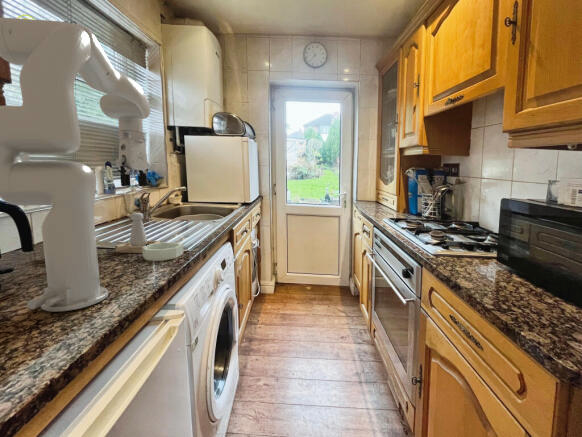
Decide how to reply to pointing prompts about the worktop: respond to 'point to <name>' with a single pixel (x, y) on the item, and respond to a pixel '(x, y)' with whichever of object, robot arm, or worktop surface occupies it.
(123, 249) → the tray
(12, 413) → the worktop surface
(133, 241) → the salt shaker
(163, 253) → the holder ring
